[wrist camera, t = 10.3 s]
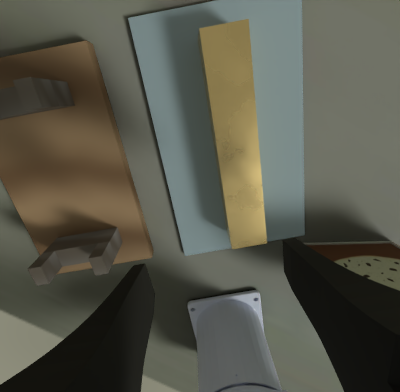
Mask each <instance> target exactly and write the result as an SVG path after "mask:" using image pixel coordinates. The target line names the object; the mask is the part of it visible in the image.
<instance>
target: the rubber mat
mask: <svg viewBox="0 0 400 392" xmlns="http://www.w3.org/2000/svg"><path fill="white" fill-rule="evenodd" d="M244 19H249V29H250V41H251V53H252V65H253V78H254V90H255V102H256V114H257V126H258V139H259V151H260V163H261V175H262V187H263V200H264V212H265V224H266V236H267V242H269V241H274V240H280V239H286V238H292V237H298V236H303V235H305V219H304V138H303V57H302V0H216V1H211V2H206V3H201V4H196V5H191V6H186V7H181V8H176V9H171V10H166V11H161V12H156V13H151V14H146V15H140V16H135V17H130V18H128V20H129V24H130V28H131V32H132V36H133V41H134V45H135V49H136V53H137V57H138V62H139V66H140V70H141V74H142V78H143V83H144V87H145V91H146V95H147V99H148V103H149V108H150V112H151V116H152V120H153V124H154V129H155V133H156V137H157V141H158V145H159V149H160V154H161V158H162V162H163V166H164V170H165V175H166V179H167V183H168V187H169V191H170V196H171V200H172V204H173V208H174V212H175V216H176V221H177V225H178V229H179V233H180V237H181V242H182V246H183V250H184V254H185V256H187V255H193V254H199V253H205V252H211V251H216V250H222V249H228V248H231V244H230V241H229V237H228V234H227V229H226V223H225V216H224V209H223V203H222V196H221V190H220V183H219V177H218V170H217V164H216V157H215V151H214V144H213V138H212V131H211V124H210V118H209V111H208V105H207V98H206V92H205V85H204V79H203V72H202V66H201V59H200V52H199V46H198V33H199V28H204V27H209V26H214V25H219V24H224V23H229V22H234V21H239V20H244Z"/></svg>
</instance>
